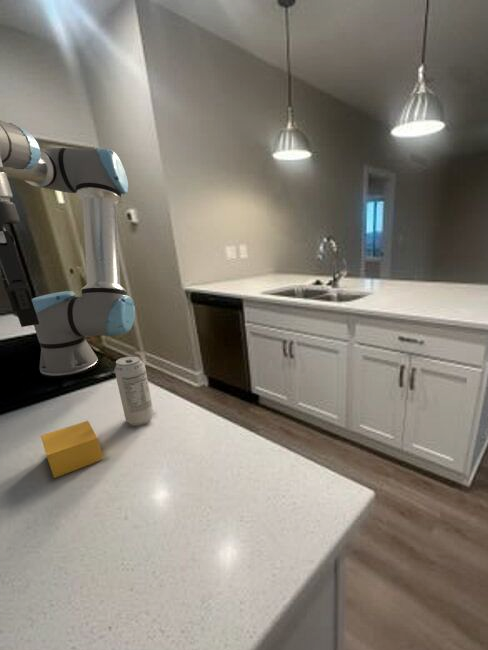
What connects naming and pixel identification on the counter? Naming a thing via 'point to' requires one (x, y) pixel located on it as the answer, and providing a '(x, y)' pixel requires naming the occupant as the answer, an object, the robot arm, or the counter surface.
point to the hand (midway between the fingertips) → (25, 317)
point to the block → (71, 448)
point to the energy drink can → (134, 390)
